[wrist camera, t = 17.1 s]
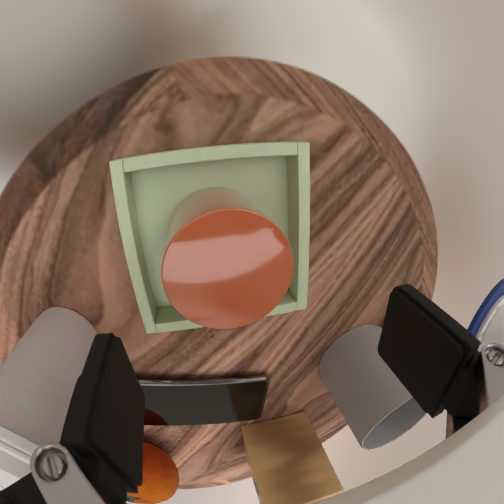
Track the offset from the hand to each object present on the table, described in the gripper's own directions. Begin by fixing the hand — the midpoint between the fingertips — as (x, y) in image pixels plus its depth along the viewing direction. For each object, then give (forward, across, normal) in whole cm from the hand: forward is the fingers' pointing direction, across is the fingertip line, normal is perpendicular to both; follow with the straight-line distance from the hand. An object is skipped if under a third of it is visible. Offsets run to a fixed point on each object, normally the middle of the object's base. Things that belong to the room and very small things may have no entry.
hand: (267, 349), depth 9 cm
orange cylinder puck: (+11, +1, 0) cm, 11 cm away
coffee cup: (+12, +15, +7) cm, 20 cm away
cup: (+12, -12, +15) cm, 23 cm away
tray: (+12, +1, 0) cm, 12 cm away
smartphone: (+12, +6, +16) cm, 21 cm away
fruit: (+12, +15, +26) cm, 32 cm away
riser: (+12, -3, +27) cm, 30 cm away
